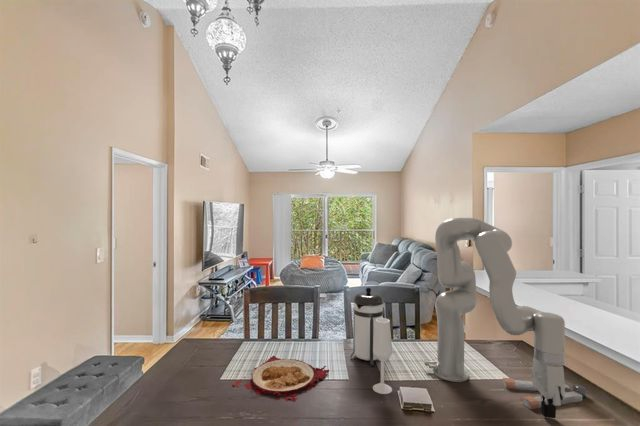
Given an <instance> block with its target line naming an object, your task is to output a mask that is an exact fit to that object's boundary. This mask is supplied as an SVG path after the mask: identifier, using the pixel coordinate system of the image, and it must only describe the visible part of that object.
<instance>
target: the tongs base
mask: <svg viewBox="0 0 640 426" xmlns="http://www.w3.org/2000/svg"><path fill="white" fill-rule="evenodd" d="M502 385H503V386H504V388H505V389H506V390H507V389H509V390H522V391H523V390H525V391H534V392H536V391H537V392H539V391H538V390H537V388H536V387H535V386H534V385H533V383H532V380H531V381H530V380H521V379H513V378H511V377H502ZM572 391H576V392H578V393H579V394H581V395H582V399H586V398H587V387H585V386H583V385H581V384H577V383H576V384H575V383H574V384H572ZM572 391H571V387H570V386H569V385H568V384H567V383H565V392H572Z"/></svg>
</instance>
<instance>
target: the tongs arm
mask: <svg viewBox="0 0 640 426" xmlns="http://www.w3.org/2000/svg"><path fill="white" fill-rule="evenodd" d="M552 399H553V398H552ZM522 401H523V405H524V406H525V407H526V408H528V409H529V410H534V409H541V401H542V400H541V396H539V395H537V396H532V395H526V396H523V400H522ZM578 402H579V403H580V402H583V398H582V395H581V394H579V393H578V392H576V391H573V390H572V391H571V392H565V398H564V400H561V399H560V403H561V405H565V404H566V405H567V404H573V403H578Z"/></svg>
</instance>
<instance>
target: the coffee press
mask: <svg viewBox="0 0 640 426" xmlns="http://www.w3.org/2000/svg"><path fill="white" fill-rule="evenodd" d="M352 300H353V325H352V326H353V335H352V337H353V338H352V340H353V343H352V344H353V348H352V349H353V350H352V353H351V354H350V359H351V360H355V359H356V358H358V359H360V360H364V361H368V362H369V363H368V364H369V366H370V367H374V366H375V363H374V361H377V360H379V359H378V358H377V357H376V356H375V355H374V353H373V344H374V334H375V324H376V319H378V318H386V317H385V315H386V314H385V307H384V303H385V300H384V299H383V297H382V296H381V294H379V293H377V292H374V291H373V292H372V289H371V287H366V288H365V291H363V292H359V293H357V294H355V296H354V298H353V299H352ZM353 355H354V356H353Z"/></svg>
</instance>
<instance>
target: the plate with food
mask: <svg viewBox="0 0 640 426" xmlns="http://www.w3.org/2000/svg"><path fill="white" fill-rule="evenodd" d="M325 368H327V365H324V366H323V367H321V368H318V367H313V365H311V364H309V363H306V362H305V361H303V360H299V359H296V358H294V359H291V358H278V357H276V356H275V355H272V357H271V356H270V358H268V359H267V360H266V361H264V362H262V364H260V365H259V366H257V367H253V372H252V373H251V378H250V380H249V382H246V383H244V382H243V380H242V379H240V380H238V381H236V382H233V383H232V385H233V387H237V388H239V387H240V386H242V384H241V382H242V383H244V384H243V386H244V387H246V389H250V390H251V391H250V392H251V393H253V390H254V391H255V394H256V395H259V396H261V395H265V394H269V395H274V396H277V397H275V399H274V401H277V400H281V397H280V396H282V397H283V400H285V402H293V403H295V402H296V401H297V400H299V399H298V396H299V394H301V392H302V391H303V390H306V392H304V393H305V394H306V393H307V391H308V392H310V391H312V389H314V388H316V384H315V382H319V381H323V379H324V378H325V377H326V375H327V374H328V373H330V369H325ZM246 378H247V376H243V379H246ZM287 396H289V397H287ZM288 399H290V401H289V400H288Z"/></svg>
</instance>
